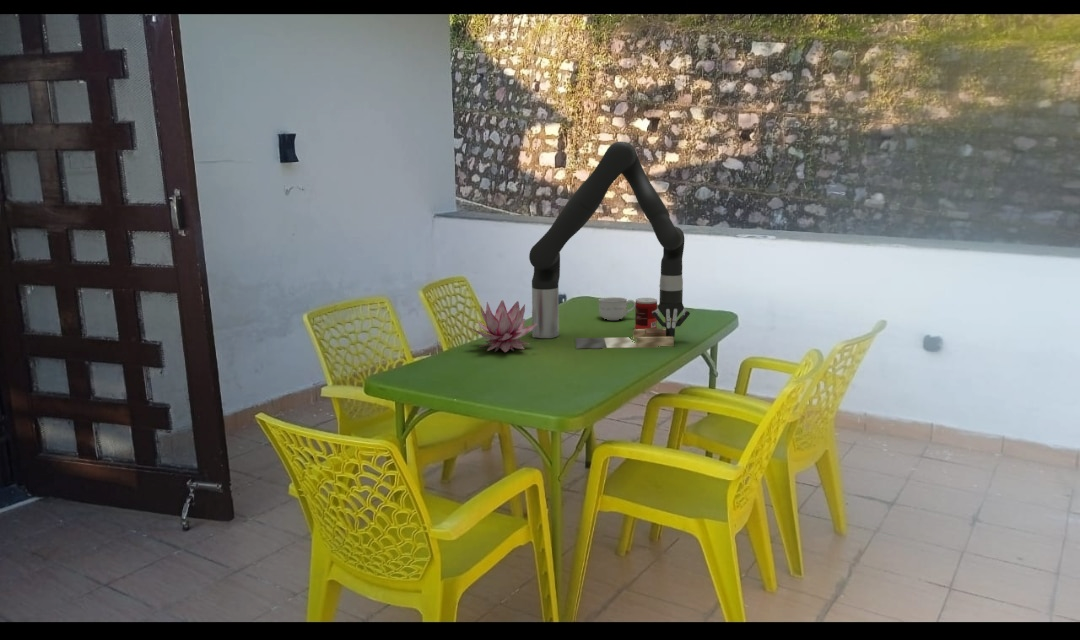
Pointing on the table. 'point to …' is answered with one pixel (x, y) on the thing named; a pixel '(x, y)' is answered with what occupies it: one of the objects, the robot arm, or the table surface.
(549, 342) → the table surface
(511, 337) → the decorative flower
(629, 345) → the corridor track
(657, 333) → the walnut block
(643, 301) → the canned food
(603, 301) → the teacup
